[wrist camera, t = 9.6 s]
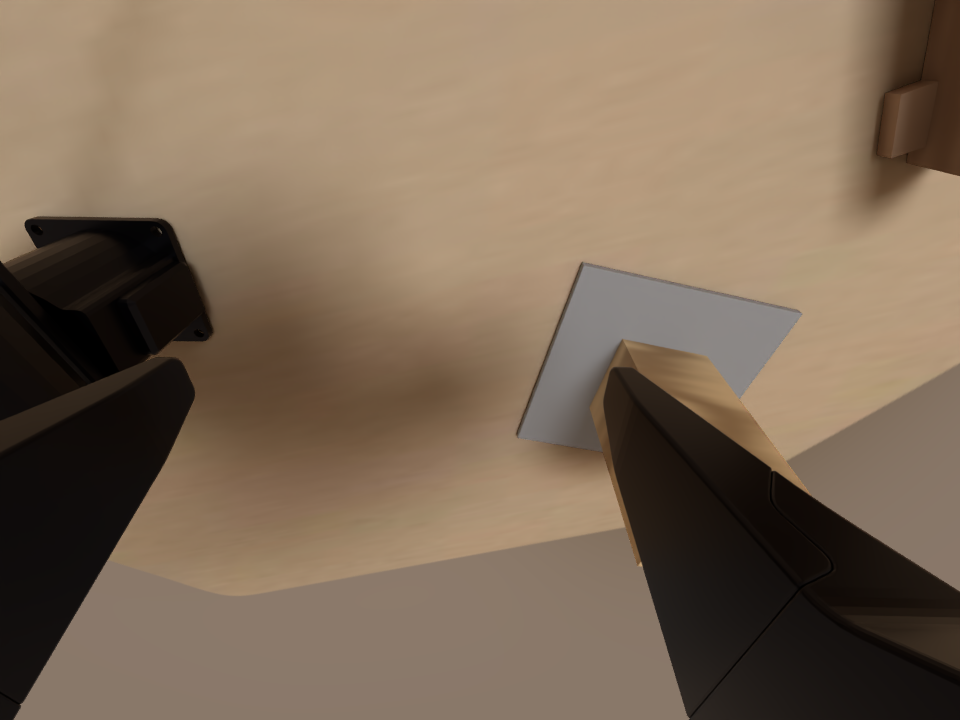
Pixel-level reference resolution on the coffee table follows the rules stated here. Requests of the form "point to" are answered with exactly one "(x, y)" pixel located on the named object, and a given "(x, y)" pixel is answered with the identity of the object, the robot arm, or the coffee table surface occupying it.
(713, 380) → the letter block
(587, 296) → the felt mat
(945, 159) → the walnut screen
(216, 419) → the coffee table surface
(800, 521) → the robot arm
